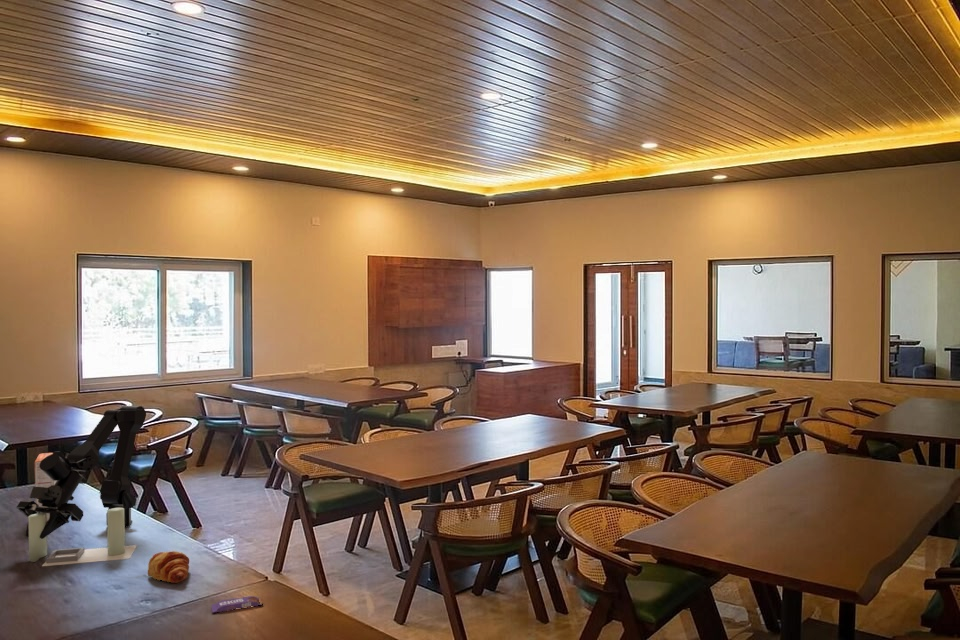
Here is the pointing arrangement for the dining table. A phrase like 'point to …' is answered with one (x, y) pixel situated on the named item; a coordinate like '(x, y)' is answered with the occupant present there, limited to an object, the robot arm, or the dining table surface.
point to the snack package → (235, 603)
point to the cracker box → (42, 477)
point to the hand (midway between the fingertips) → (33, 537)
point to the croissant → (169, 566)
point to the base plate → (85, 555)
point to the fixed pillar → (115, 531)
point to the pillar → (37, 536)
